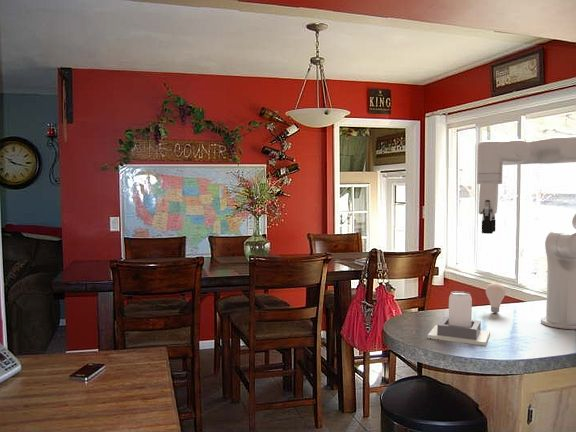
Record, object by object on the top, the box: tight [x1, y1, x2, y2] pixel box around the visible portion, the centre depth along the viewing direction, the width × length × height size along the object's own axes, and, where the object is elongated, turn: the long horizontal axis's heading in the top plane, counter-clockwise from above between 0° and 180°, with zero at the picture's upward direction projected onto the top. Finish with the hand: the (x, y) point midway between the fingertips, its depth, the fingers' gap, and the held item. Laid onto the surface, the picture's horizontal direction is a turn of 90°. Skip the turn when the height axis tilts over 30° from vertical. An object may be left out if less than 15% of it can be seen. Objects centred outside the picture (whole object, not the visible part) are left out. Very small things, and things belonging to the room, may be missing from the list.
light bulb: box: [485, 282, 506, 314], centre depth 178 cm, size 7×7×11 cm
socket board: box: [427, 316, 491, 347], centre depth 148 cm, size 16×13×4 cm
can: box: [448, 290, 473, 328], centre depth 148 cm, size 6×6×12 cm
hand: (488, 232), depth 160 cm, fingers open, 9 cm apart
